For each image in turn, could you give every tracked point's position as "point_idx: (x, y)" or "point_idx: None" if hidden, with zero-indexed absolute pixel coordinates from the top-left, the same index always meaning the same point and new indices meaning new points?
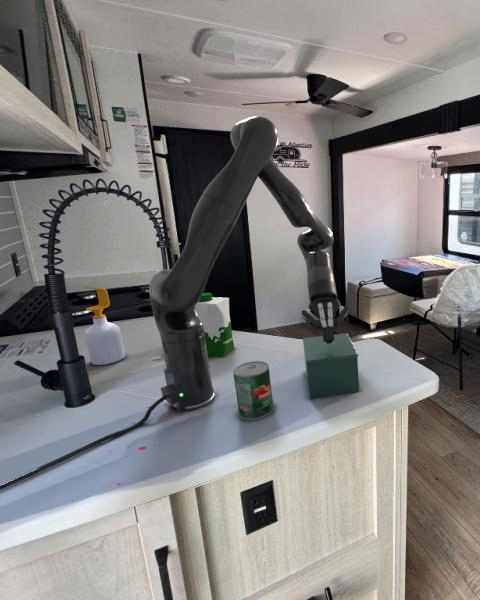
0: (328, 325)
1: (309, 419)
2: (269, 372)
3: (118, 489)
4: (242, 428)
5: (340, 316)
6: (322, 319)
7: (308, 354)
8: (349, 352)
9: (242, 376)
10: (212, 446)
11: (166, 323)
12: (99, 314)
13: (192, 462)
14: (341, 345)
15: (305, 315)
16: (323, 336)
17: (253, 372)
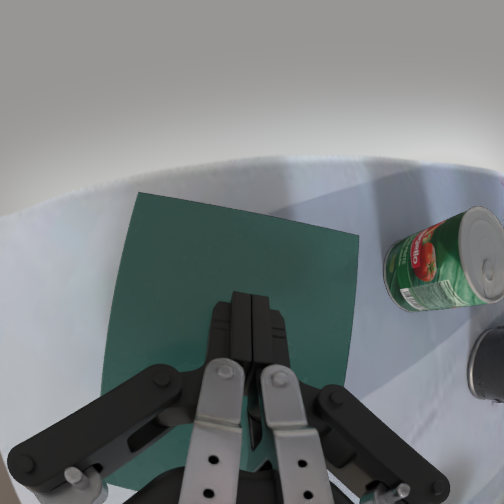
0: (242, 379)
1: (316, 182)
2: (445, 254)
3: (499, 174)
4: (427, 221)
5: (113, 414)
6: (294, 425)
7: (343, 299)
8: (161, 229)
9: (494, 215)
10: (453, 195)
11: None
12: None
13: (463, 174)
14: (166, 338)
15: (423, 464)
16: (283, 325)
17: (481, 228)
